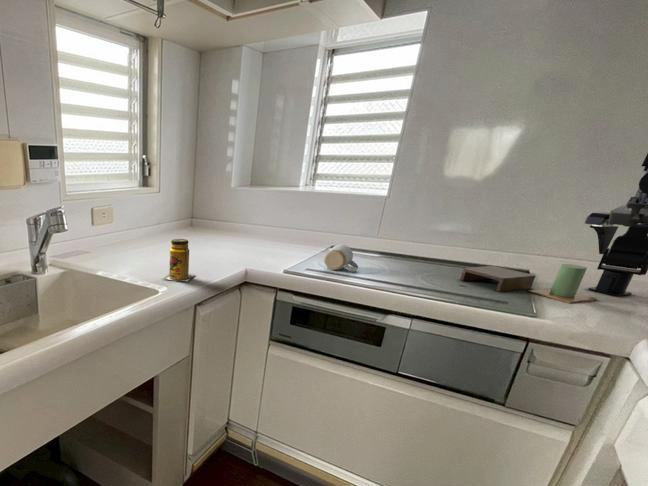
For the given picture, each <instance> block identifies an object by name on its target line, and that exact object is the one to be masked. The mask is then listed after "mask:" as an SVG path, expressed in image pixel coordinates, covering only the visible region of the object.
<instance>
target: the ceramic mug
mask: <svg viewBox="0 0 648 486" xmlns="http://www.w3.org/2000/svg"><path fill="white" fill-rule="evenodd" d="M353 257H354V253H353V250H352V249H351V247H349V245H346V244H337V245H334V246H333V247H332V248H331V249H329V250H328V251H327V252H326V253H325V255H324V258H323V263H324V265H325V267H326V268H327V269H329V270H331V271H339V270H341V269H344V270H347V271H349V272H350V273H351V272H352V273H355V272H357V271H358V270H359V269H360V268H359V265H358V264H357V263H356V262H355V261H354V260H353Z"/></svg>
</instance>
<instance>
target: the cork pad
mask: <svg viewBox="0 0 648 486" xmlns="http://www.w3.org/2000/svg"><path fill="white" fill-rule="evenodd" d="M551 288H552V287H551ZM551 288H539V289H528V290H527V292H528V293H531V294H535V295H538V296H542V297H546V298H549V299H552V300H556V301H560V302H564V303H567V304H572V303H575V304H576V303H582V302H592V301H597V300H598V299H597V298H595V297H592V296H587V295H584V294H580V293H576V294H575V297H562V296H557V295H553V294H551V293H550V291H551Z"/></svg>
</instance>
